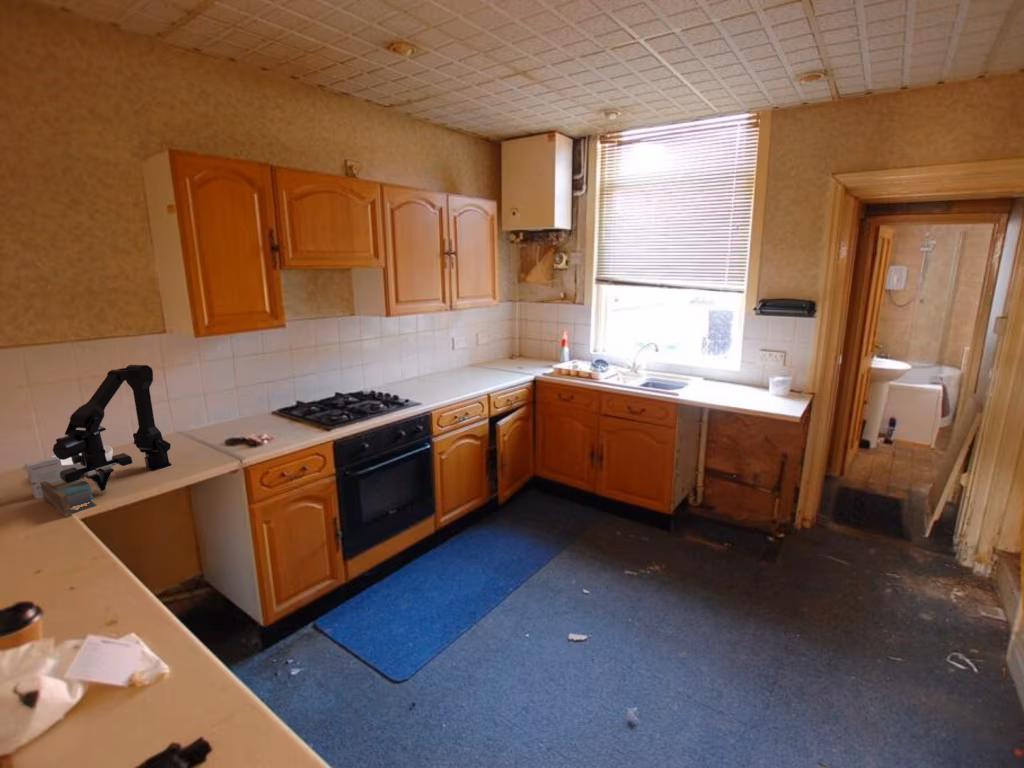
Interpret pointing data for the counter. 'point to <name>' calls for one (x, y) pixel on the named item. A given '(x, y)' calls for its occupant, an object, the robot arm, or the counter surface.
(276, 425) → the counter surface
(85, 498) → the grey metal bookend
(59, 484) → the row of shelved books
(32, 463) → the ink box
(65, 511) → the walnut back wall
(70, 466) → the bowl
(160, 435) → the robot arm
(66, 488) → the grey teal rectangular block
